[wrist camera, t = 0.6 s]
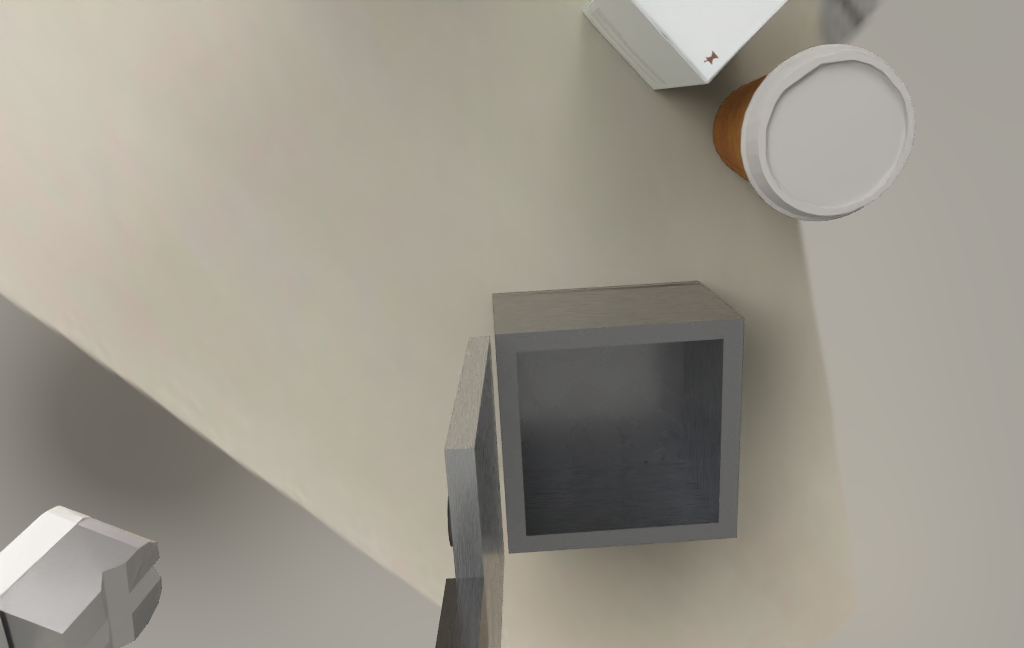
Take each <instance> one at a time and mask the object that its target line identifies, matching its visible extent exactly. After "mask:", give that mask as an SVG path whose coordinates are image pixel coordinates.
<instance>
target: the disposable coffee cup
mask: <svg viewBox="0 0 1024 648" xmlns="http://www.w3.org/2000/svg"><path fill="white" fill-rule="evenodd" d="M914 116H915V115H914V106H913V104H912V101H911V98H910V95H909V92H908V89H907V87H906V86H905V84H904V83H903V82H902V81H901V79H900V78H899V77H898V75H897V74H896V73H895V71H894V70H893V69H892V67H891V66H889V65H888V64H887V63H886V62H885V61H884V60H882V59H881V58H880V57H879V56H878V55H876V54H873V53H871V52H869V51H867V50H865V49H863V48H861V47H856V46H851V45H846V44H825V45H820V46H816V47H812V48H809V49H806V50H804V51H802V52H799V53H797V54H795V55H793V56H791V57H790V58H788V59H787V60H785V61H784V62H782V63H781V64H779V65H778V66H777V67H776V68H775V69H774V70H773V71H771V72H770V73H769V74H767V75H765V76H763V77H761V78H759V79H757V80H755V81H753V82H751V83H749V84H746V85H744V86H742V87H740V88H738V89H737V90H735V91H734V92H732V93H731V94H730V95H729V96H728V97H727V98H726V99H725V101H724V102H723V103H722V105H721V106H720V108H719V110H718V112H717V114H716V118H715V121H714V128H713V139H714V144H715V148H716V151H717V153H718V154H719V156H720V158H721V159H722V161H723V162H724V163H725V164H726V165H727V166H728V167H730V168H731V169H732V170H734V171H735V172H737V173H738V174H739V175H741V176H742V177H743V178H745V179H746V180H747V181H748V182H750V183H751V185H752V186H753V188H754V189H755V190H756V192H757V193H758V194H759V196H760V197H761V198H762V199H763V200H764V201H765V202H766V203H767V204H769V205H770V206H771V207H773V208H774V209H776V210H777V211H779V212H781V213H783V214H785V215H787V216H790V217H793V218H797V219H800V220H806V221H828V220H832V219H837V218H841V217H843V216H847V215H849V214H851V213H853V212H856V211H858V210H860V209H861V208H863V207H864V206H865V205H867V204H869V203H871V202H872V201H874V200H875V199H876V198H878V197H879V196H880V195H882V194H883V193H884V192H885V191H886V190H887V189H888V188H889V187H890V186H891V185H892V184H893V183H894V181H895V180H896V178H897V177H898V175H899V174H900V173H901V171H902V170H903V168H904V166H905V164H906V161H907V159H908V157H909V155H910V152H911V149H912V145H913V140H914V133H915V117H914Z"/></svg>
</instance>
